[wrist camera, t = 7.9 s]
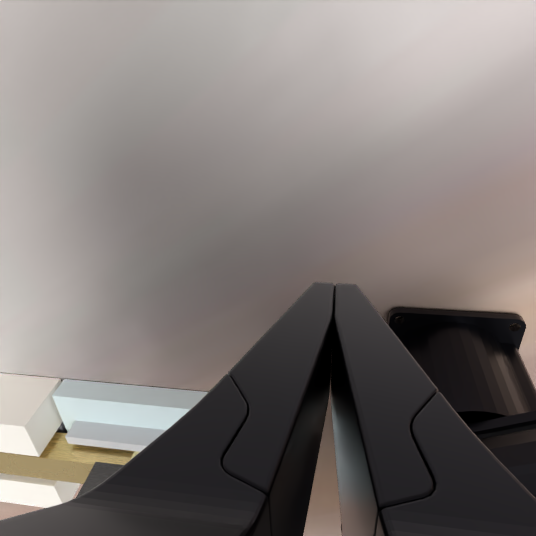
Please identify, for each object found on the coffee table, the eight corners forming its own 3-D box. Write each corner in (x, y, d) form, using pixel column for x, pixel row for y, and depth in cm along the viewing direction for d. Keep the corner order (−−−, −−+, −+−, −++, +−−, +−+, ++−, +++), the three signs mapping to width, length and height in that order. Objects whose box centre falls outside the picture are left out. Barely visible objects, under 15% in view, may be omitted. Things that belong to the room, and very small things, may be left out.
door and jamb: (298, 400, 28) (291, 456, 25) (299, 485, 33) (293, 542, 29) (-18, 371, 31) (-62, 417, 28) (24, 452, 36) (-10, 499, 33)
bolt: (138, 438, 30) (107, 503, 26) (146, 466, 31) (118, 531, 27) (3, 423, 31) (-45, 483, 27) (17, 450, 33) (-26, 510, 29)
